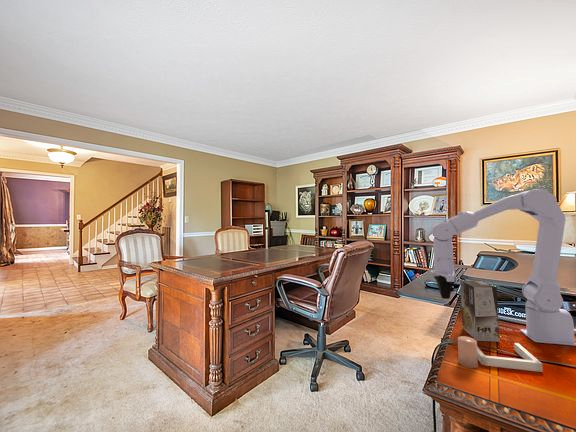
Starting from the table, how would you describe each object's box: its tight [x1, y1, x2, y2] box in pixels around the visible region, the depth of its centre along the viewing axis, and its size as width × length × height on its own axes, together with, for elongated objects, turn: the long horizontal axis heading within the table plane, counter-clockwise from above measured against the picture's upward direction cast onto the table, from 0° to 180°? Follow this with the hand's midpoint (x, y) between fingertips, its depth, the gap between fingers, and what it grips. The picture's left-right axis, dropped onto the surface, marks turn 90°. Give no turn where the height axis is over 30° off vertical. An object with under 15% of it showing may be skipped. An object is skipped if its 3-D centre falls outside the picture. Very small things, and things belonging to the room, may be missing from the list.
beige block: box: [457, 335, 479, 369], centre depth 65 cm, size 4×4×6 cm
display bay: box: [477, 342, 543, 373], centre depth 67 cm, size 12×10×2 cm
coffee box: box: [459, 279, 500, 343], centre depth 80 cm, size 9×6×16 cm
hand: (445, 298), depth 87 cm, fingers closed
